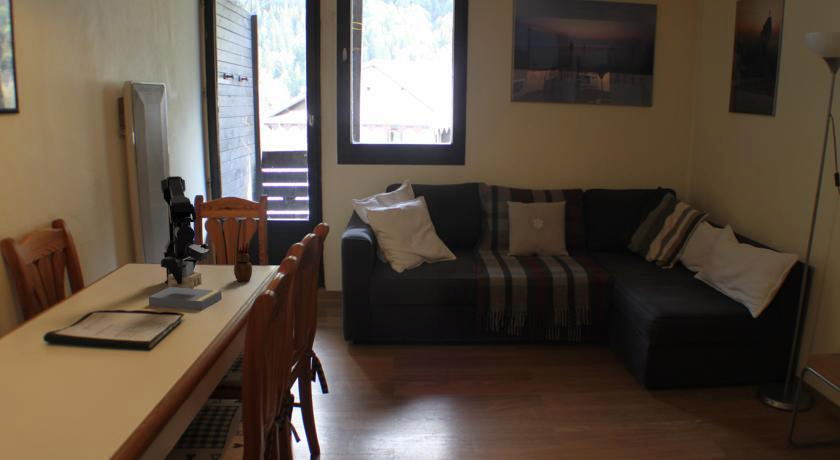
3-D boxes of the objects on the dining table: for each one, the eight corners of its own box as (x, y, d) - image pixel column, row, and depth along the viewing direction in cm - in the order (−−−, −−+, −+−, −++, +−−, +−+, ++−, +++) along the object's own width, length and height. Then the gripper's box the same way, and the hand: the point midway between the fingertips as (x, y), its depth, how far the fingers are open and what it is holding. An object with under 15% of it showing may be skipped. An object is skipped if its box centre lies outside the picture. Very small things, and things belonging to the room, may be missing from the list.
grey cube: (175, 275, 233) (174, 263, 233) (182, 272, 238) (181, 260, 237) (186, 276, 232) (186, 264, 232) (193, 273, 237) (193, 261, 236)
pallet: (168, 286, 234) (167, 275, 233) (178, 282, 240) (177, 271, 239) (192, 288, 232) (191, 277, 231) (201, 284, 238) (201, 272, 237)
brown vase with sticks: (254, 279, 268) (253, 241, 265) (249, 282, 262) (248, 244, 259) (237, 278, 268) (236, 241, 266) (232, 282, 263) (230, 244, 260)
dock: (149, 305, 233) (148, 296, 232) (170, 294, 245) (170, 286, 245) (202, 310, 228) (201, 300, 228) (221, 299, 241) (221, 290, 240)
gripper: (189, 244, 222) (191, 291, 225) (217, 233, 240) (219, 276, 243) (158, 242, 224) (161, 288, 227) (189, 231, 242) (191, 274, 245)
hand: (184, 281), depth 236 cm, fingers closed on pallet, 6 cm apart
